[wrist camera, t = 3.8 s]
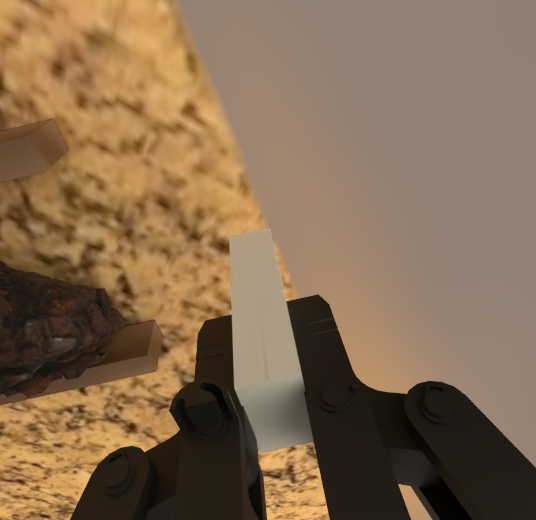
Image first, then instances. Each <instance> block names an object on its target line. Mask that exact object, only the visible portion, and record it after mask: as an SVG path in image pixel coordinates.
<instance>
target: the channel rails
mask: <svg viewBox="0 0 536 520" xmlns="http://www.w3.org/2000/svg"><path fill="white" fill-rule="evenodd" d="M68 150H69V148H68V146H67V144H66V142H65V140H64V138H63V136H62V134H61V132H60V130H59V128H58V126H57V124H56V122H55V120H54V119H50V120H46V121H42V122H37V123H33V124H29V125H25V126H21V127H16V128H12V129H8V130H4V131H0V182H4V181H9V180H13V179H17V178H21V177H26V176H30V175H34V174H39V173H43V172H45V171H47V170H48V169H49V168H50V167H51V166H52V165H53V164H54V163H55V162H56V161H57V160H58V159H59V158H60V157H62V156H63V155H64V154H65V153H66V152H67V151H68ZM110 337H111V341H110V343H109V344H108V345H107V346H106V347H105V348H104V349H102V350H100V351H99V352H98V353H102V352H108V354H109V355H108V357H107V358H106V359H104V360H102V361H100V362H98V363H96V364H94V365H92V366H90V367H88V368H86V370H85V371H84V372H83V374H82V375H81V376H80V377H78V378H75V379H70V380H67V379H66V378H65V377H64V376H63V375H62V379H58V380H54V381H52V382H51V383H50V384H49V385H48V387H47V388H46V390H45V392H44V393H39V394H37V395H34V396H32V397H29V398H27V397H26V396H25V395H24V394H21V393H19V394H16V395H13V396H9V397H6V396H5V395H4V394H2V395H0V405H3V404H8V403H13V402H17V401H22V400H27V399H31V398H36V397H40V396H45V395H50V394H54V393H59V392H64V391H68V390H73V389H77V388H82V387H87V386H91V385H96V384H101V383H105V382H110V381H114V380H119V379H124V378H128V377H133V376H138V375H142V374H147V373H151V372H156V370H157V365H158V359H159V354H160V348H161V343H162V337H163V335H162V333H161V331H160V329H159V327H158V325H157V323H156V321H155V320H152V321H147V322H143V323H138V324H134V325H129V326H125V328H123V329H121V330H119V331H117V332H116V334H113V335H111V336H110Z"/></svg>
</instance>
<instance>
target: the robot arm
mask: <svg viewBox="0 0 536 520" xmlns="http://www.w3.org/2000/svg"><path fill="white" fill-rule="evenodd" d="M229 241H230V272H231V304H232V315H228V316H224V317H219V318H215V319H210V320H206V321H205V322H204V324H203V326H202V328H201V329H200V331H199V333H198V339H197V353H196V366H195V380H194V381H193V382H191V383H189V384H188V385H186V386H185V387H184V388H182V389H181V390H180V391H179V392H178V393H177V395H176V396H175V397H174V399H173V400H172V403H171V406H170V409H169V411H170V413H171V414H172V416H173V418H174V419H175V421H176V423H177V425H178V426H179V428H180V430H179V431H178V432H177V433H176V434H175V435H174V436H172V437H171V438H169V439H168V440H166V441H165V442H163V443H161V444H159V445H157V446H155V447H153V448H152V449H150V450H148V451H146V452H144V451H143V450H142V449H141V448H137V447H134V446H129V447H123V448H120V449H118V450H116V451H114V452H112V453H110V454H109V455H108V456H107V457H106V458H105V459H104V460H102V461H101V462H100V463H99V465H98V466H97V468H96V469H95V471H94V472H93V474H92V475H91V477H90V479H89V481H88V484H87V486H86V488H85V490H84V492H83V494H82V496H81V498H80V500H79V502H78V504H77V506H76V508H75V510H74V512H73V515H72V517H71V519H70V520H267V514H266V503H265V492H264V480H263V475H262V471H261V468H260V465H259V462H258V449H257V446H258V448H259V451H260V453H263V452H268V451H273V450H277V449H282V448H287V447H292V446H296V445H301V444H306V443H311V442H314V445H315V450H316V455H317V460H318V464H319V469H320V474H321V479H322V484H323V489H324V493H325V498H326V503H327V508H328V513H329V517H330V520H411V518H410V516H409V513H408V510H407V507H406V505H405V502H404V499H403V496H402V494H401V491H400V488H399V486H398V484H402V485H408V486H411V487H412V489H413V490H414V492H415V493H416V495H417V496H418V498H419V500H420V501H421V503H422V504H423V506H424V507H425V509H426V510H427V512H428V513H429V515H430V516H431V518H432V519H433V520H536V468H535V467H534V466H533V465H532V463H531V462H530V461H529V460H528V459H527V458H526V457H525V456H524V455H523V454H522V453H521V452H520V451H519V450H518V449H517V448H516V447H515V446H514V445H513V444H512V443H511V442H510V441H509V440H508V439H507V438H506V437H505V436H504V435H503V433H502V432H501V431H500V430H499V429H498V428H497V427H496V426H495V425H494V424H493V423H492V422H491V421H490V420H489V419H488V418H487V417H486V416H485V415H484V414H483V413H482V412H481V411H480V410H479V409H478V408H477V407H476V406H475V405H474V403H473V402H471V400H470V399H469V398H468V397H467V396H466V395H465V394H463V393H462V392H461V391H459V390H458V389H457V388H455V387H454V386H451V385H448V384H446V383H443V382H436V381H427V382H423V383H419V384H417V385H415V386H414V387H413V388H411V389H410V390H409V391H408V393H407V394H400V393H389V392H383V391H378V390H375V389H373V388H370V387H368V386H366V385H365V384H363V383H362V382H361V381H360V380H359V379H358V378H357V377H356V375H355V373H354V372H353V370H352V367H351V364H350V361H349V359H348V356H347V353H346V350H345V348H344V345H343V342H342V339H341V336H340V333H339V331H338V329H337V325H336V322H335V320H334V317H333V314H332V311H331V308H330V306H329V304H328V303H327V302H326V301H325V300H324V299H323V298H322V297H320V296H319V295H314V296H309V297H305V298H300V299H296V300H291V301H286V296H285V292H284V287H283V283H282V278H281V274H280V270H279V265H278V261H277V256H276V252H275V248H274V243H273V239H272V235H271V230H270V228H266V229H261V230H257V231H253V232H248V233H244V234H239V235H235V236H231V237H229Z"/></svg>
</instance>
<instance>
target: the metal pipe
mask: <svg viewBox="0 0 536 520" xmlns="http://www.w3.org/2000/svg"><path fill="white" fill-rule="evenodd" d="M123 328H125V325H124V320H123V318H122V315H120V314H119V311H118V310H117V309H116V308H110V297H109V295H108V294H107V292H106V290H105V289H104V288H102V289H96V288H93V287H91V286H86V285H71V284H68V283H66V282H63V281H60V280H53V279H50V277H46V276H43V275H40V274H36V273H35V272H22V271H18V270H15V269H12V268H9V267H7V266H6V265H5V264H4V263H3V262H1V261H0V395H2V394H4V395H5V396H6V397H9V396H13V395H16V394H19V393H21V394H24V395H25V396H26V397H27V398H29V397H32V396H34V395H37V394H39V393H44V392H45V390H46V388H47V387H48V385H49V384H50V383H51V382H52V381H54V380H58V379H62V375H63V376H64V377H65V378H66V379H67V380H70V379H75V378H78V377H80V376H81V375H82V374H83V372H84V371H85V370H86V368H88V367H90V366H92V365H94V364H96V363H98V362H100V361H102V360H104V359H106V358H107V357H108V355H109V354H108V352H102V353H98V352H99V351H100V350H102V349H104V348H105V347H106V346H107V345H108V344H109V343H110V341H111V337H110V336H111V335H113V334H116V332H117V331H119V330H121V329H123Z"/></svg>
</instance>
